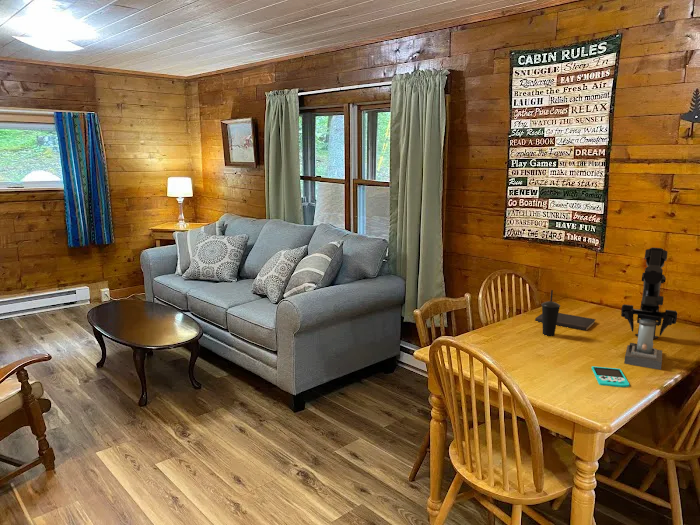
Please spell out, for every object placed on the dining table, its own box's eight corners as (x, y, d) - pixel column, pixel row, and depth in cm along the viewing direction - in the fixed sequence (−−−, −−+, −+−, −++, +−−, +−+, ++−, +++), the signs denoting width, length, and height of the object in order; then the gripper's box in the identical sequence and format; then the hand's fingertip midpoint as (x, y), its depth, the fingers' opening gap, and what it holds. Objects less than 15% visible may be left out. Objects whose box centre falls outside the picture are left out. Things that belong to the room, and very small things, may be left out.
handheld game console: (598, 386, 184) (598, 382, 183) (590, 368, 199) (590, 365, 199) (630, 389, 181) (631, 385, 181) (620, 371, 196) (620, 368, 196)
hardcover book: (545, 315, 267) (546, 310, 267) (595, 323, 253) (595, 319, 253) (534, 322, 255) (535, 317, 254) (586, 332, 241) (586, 327, 240)
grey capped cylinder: (636, 350, 208) (639, 318, 206) (652, 353, 205) (655, 320, 203) (634, 357, 201) (638, 323, 199) (651, 359, 198) (655, 325, 196)
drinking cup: (538, 336, 234) (542, 291, 230) (539, 330, 240) (543, 287, 237) (557, 338, 231) (561, 293, 227) (558, 333, 238) (561, 289, 234)
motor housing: (627, 347, 220) (629, 334, 219) (661, 353, 214) (663, 339, 213) (624, 363, 203) (625, 349, 202) (660, 369, 197) (662, 355, 196)
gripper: (624, 284, 210) (619, 318, 202) (680, 290, 200) (676, 326, 193) (623, 299, 218) (618, 332, 211) (677, 305, 209) (674, 341, 201)
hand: (646, 333), depth 204 cm, fingers open, 9 cm apart
